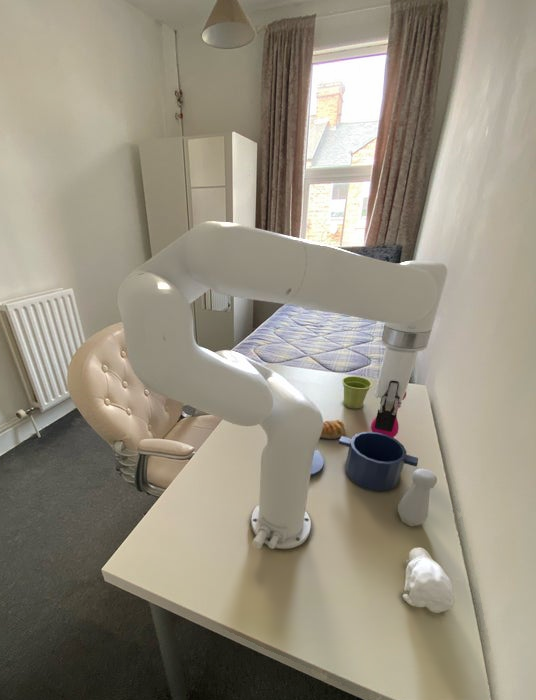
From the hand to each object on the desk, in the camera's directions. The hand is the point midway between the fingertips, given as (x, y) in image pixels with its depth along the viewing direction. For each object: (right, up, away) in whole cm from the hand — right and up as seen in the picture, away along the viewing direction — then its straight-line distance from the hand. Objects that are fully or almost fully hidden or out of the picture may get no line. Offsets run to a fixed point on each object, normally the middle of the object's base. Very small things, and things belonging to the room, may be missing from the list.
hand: (385, 416), depth 68 cm
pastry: (-2, -7, +33) cm, 33 cm away
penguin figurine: (+2, -30, -8) cm, 31 cm away
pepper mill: (+12, -9, +30) cm, 33 cm away
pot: (+4, -15, +17) cm, 23 cm away
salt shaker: (+7, -23, +5) cm, 24 cm away
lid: (-14, -12, +21) cm, 28 cm away
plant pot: (+10, +2, +48) cm, 49 cm away
